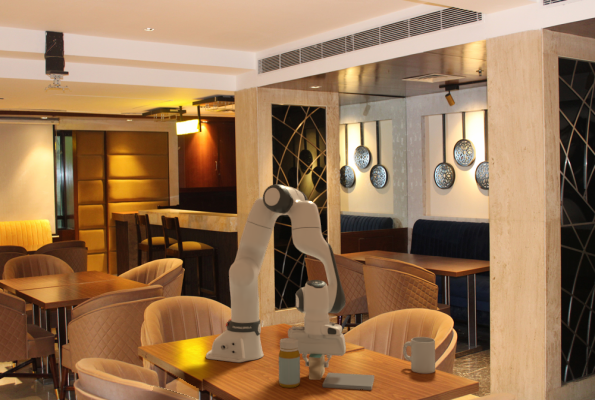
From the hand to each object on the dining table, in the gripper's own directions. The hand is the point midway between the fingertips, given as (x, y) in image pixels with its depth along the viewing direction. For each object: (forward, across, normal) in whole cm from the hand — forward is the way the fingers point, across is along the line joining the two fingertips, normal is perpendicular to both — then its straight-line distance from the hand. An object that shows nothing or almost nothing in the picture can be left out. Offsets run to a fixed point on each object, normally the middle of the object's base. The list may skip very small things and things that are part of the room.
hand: (316, 366), depth 202 cm
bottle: (+3, -7, -12) cm, 14 cm away
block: (+3, 0, 0) cm, 3 cm away
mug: (+3, +35, +14) cm, 38 cm away
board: (+3, +12, -6) cm, 14 cm away
